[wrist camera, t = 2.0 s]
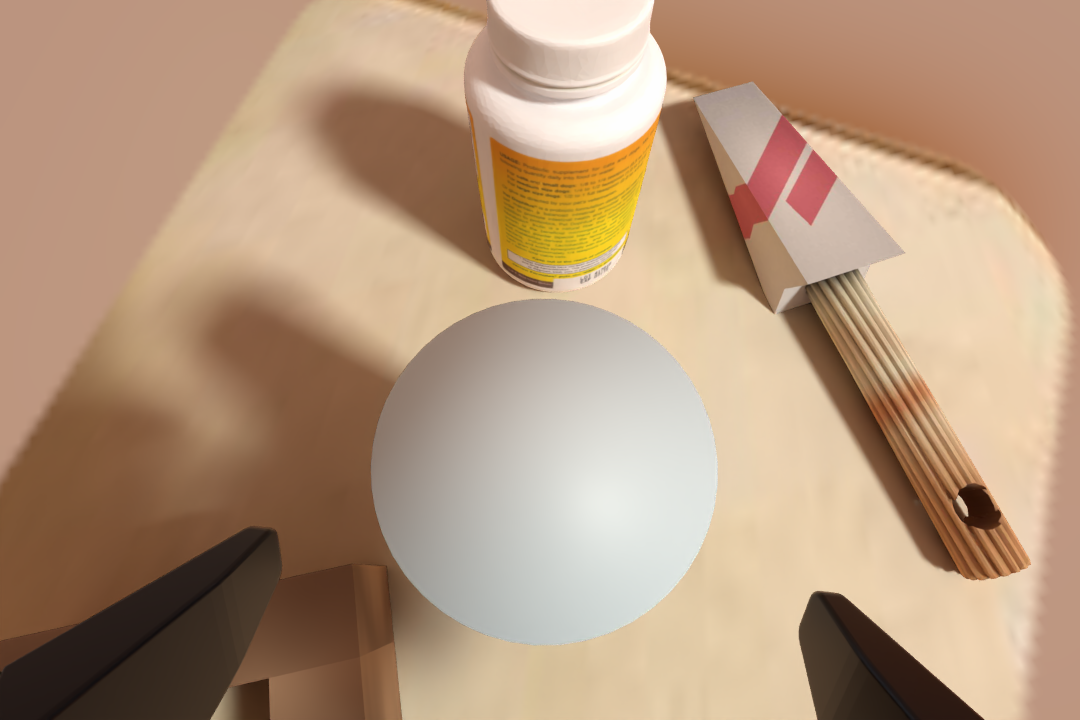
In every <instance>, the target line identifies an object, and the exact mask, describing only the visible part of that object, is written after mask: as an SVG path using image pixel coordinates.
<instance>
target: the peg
mask: <svg viewBox="0 0 1080 720" xmlns="http://www.w3.org/2000/svg"><path fill="white" fill-rule="evenodd" d="M717 483H718V461H717V454H716V446H715V439H714V435H713V431H712V428H711V424H710V420H709V417H708V414H707V412H706V409H705V407H704V404H703V402H702V400H701V397H700V395H699V394H698V392H697V390H696V388H695V386H694V385H693V383H692V381H691V379H690V378H689V377H688V375H687V374H686V372H685V371H684V370H683V368H682V367H681V366H680V364H679V363H678V362H677V360H676V359H675V358H674V357H673V356H672V355H671V354H670V353H669V352H668V351H667V350H666V349H665V348H664V347H663V346H662V345H661V344H660V343H659V342H657V341H656V340H655V339H654V338H653V337H651V336H650V335H649V334H648V333H646V332H645V331H643V330H642V329H640V328H639V327H637V326H636V325H634V324H633V323H631V322H630V321H627V320H625V319H623V318H621V317H619V316H617V315H615V314H613V313H611V312H608V311H606V310H603V309H600V308H597V307H594V306H591V305H587V304H582V303H578V302H574V301H566V300H557V299H530V300H522V301H514V302H509V303H505V304H501V305H497V306H493V307H490V308H487V309H484V310H482V311H479V312H476V313H474V314H472V315H470V316H468V317H466V318H464V319H462V320H460V321H458V322H456V323H454V324H453V325H452V326H450V327H449V328H447V329H446V330H444V331H443V332H441V333H440V334H438V335H437V336H436V337H435V338H434V339H432V340H431V341H430V342H429V343H428V344H427V345H426V346H424V347H423V348H422V349H421V350H420V351H419V353H418V354H417V355H416V356H415V357H414V358H413V359H412V360H411V361H410V363H409V364H408V365H407V366H406V368H405V369H404V371H403V372H402V374H401V375H400V376H399V378H398V379H397V381H396V382H395V384H394V386H393V388H392V390H391V392H390V394H389V396H388V398H387V400H386V402H385V404H384V407H383V410H382V412H381V415H380V418H379V420H378V424H377V428H376V433H375V437H374V441H373V449H372V459H371V487H372V494H373V500H374V506H375V512H376V515H377V518H378V521H379V525H380V528H381V531H382V534H383V536H384V539H385V541H386V543H387V545H388V547H389V549H390V551H391V553H392V556H393V557H394V559H395V560H396V562H397V563H398V565H399V566H400V568H401V569H402V571H403V573H404V574H405V576H406V577H407V578H408V579H409V580H410V581H411V583H412V584H413V585H414V586H415V587H416V588H417V590H418V591H419V592H420V593H421V594H422V595H423V596H424V597H425V598H426V599H428V600H429V601H430V602H431V603H432V604H433V605H435V606H436V607H437V608H438V609H439V610H440V611H442V612H443V613H445V614H446V615H448V616H450V617H451V618H453V619H454V620H456V621H457V622H459V623H461V624H462V625H464V626H467V627H469V628H471V629H473V630H475V631H478V632H480V633H482V634H484V635H487V636H491V637H494V638H498V639H501V640H505V641H508V642H514V643H522V644H529V645H562V644H568V643H575V642H581V641H586V640H589V639H592V638H596V637H599V636H602V635H605V634H608V633H611V632H613V631H615V630H617V629H619V628H621V627H623V626H625V625H627V624H629V623H631V622H633V621H634V620H636V619H637V618H639V617H640V616H642V615H643V614H645V613H646V612H648V611H649V610H650V609H652V608H653V607H654V606H655V605H656V604H658V603H659V602H660V601H661V600H662V599H663V598H664V597H665V596H666V595H667V594H668V593H670V592H671V591H672V589H673V588H674V587H675V586H676V584H677V583H678V582H679V581H680V580H681V578H682V577H683V576H684V575H685V573H686V572H687V570H688V569H689V567H690V565H691V564H692V562H693V561H694V559H695V557H696V556H697V554H698V552H699V550H700V548H701V546H702V543H703V541H704V539H705V536H706V534H707V532H708V529H709V525H710V522H711V518H712V514H713V511H714V507H715V499H716V492H717Z"/></svg>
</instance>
